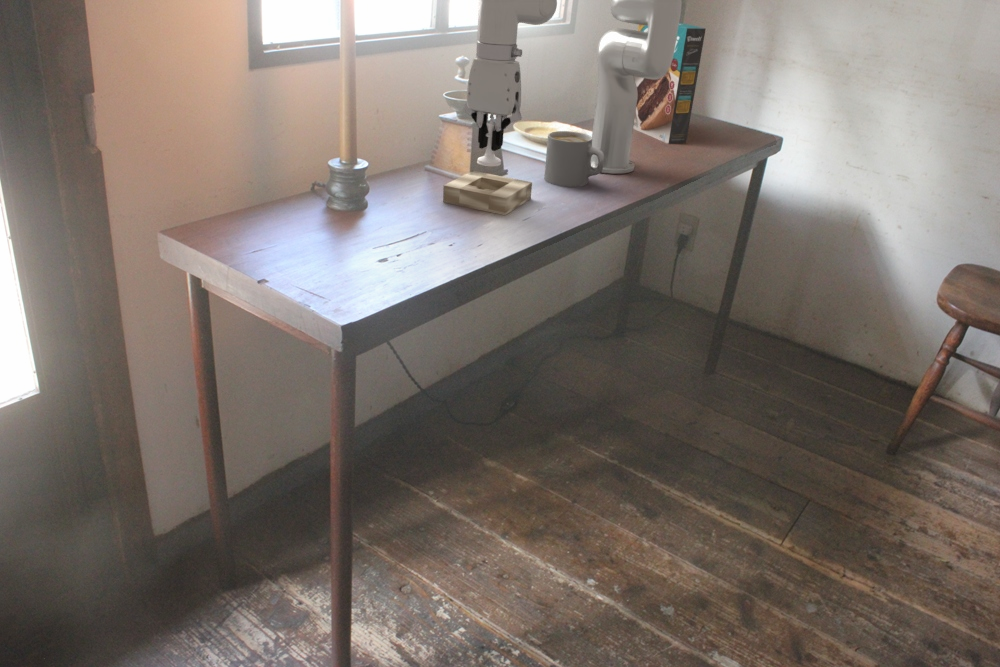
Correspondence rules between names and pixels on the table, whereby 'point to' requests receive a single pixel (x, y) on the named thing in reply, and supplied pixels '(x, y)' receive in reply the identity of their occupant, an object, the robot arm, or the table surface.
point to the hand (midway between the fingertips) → (490, 147)
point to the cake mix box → (671, 90)
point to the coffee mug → (571, 159)
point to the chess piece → (489, 148)
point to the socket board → (487, 192)
